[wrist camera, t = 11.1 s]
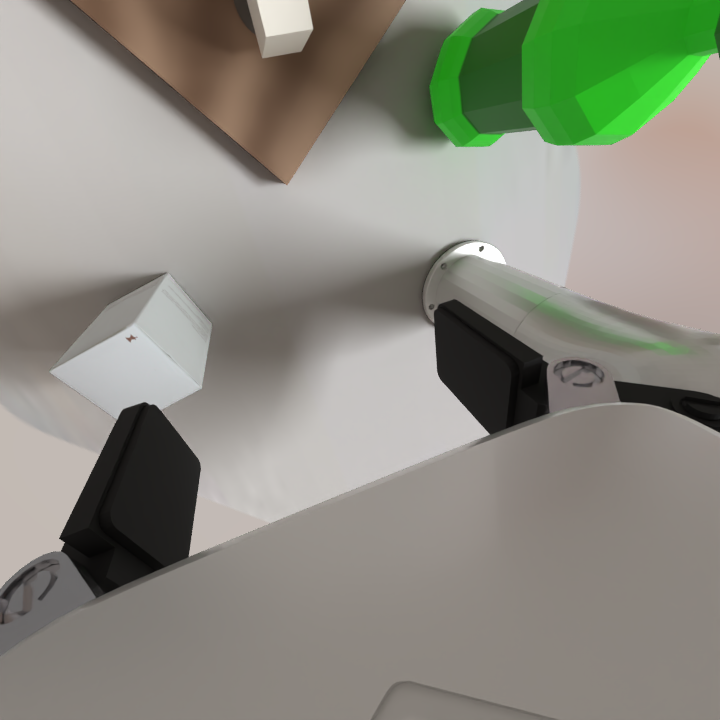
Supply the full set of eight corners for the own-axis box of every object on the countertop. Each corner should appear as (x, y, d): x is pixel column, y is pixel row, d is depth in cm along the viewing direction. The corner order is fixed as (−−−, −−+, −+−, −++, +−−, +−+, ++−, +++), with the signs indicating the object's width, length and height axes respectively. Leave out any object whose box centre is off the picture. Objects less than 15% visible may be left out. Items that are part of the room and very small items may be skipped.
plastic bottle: (459, 173, 36) (729, 188, 16) (392, 102, 31) (673, -9, 11) (520, 83, 34) (940, -36, 13) (458, -13, 28) (1009, -458, 8)
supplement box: (104, 304, 32) (41, 370, 22) (169, 270, 33) (135, 320, 22) (158, 356, 37) (126, 431, 27) (215, 326, 37) (204, 389, 27)
